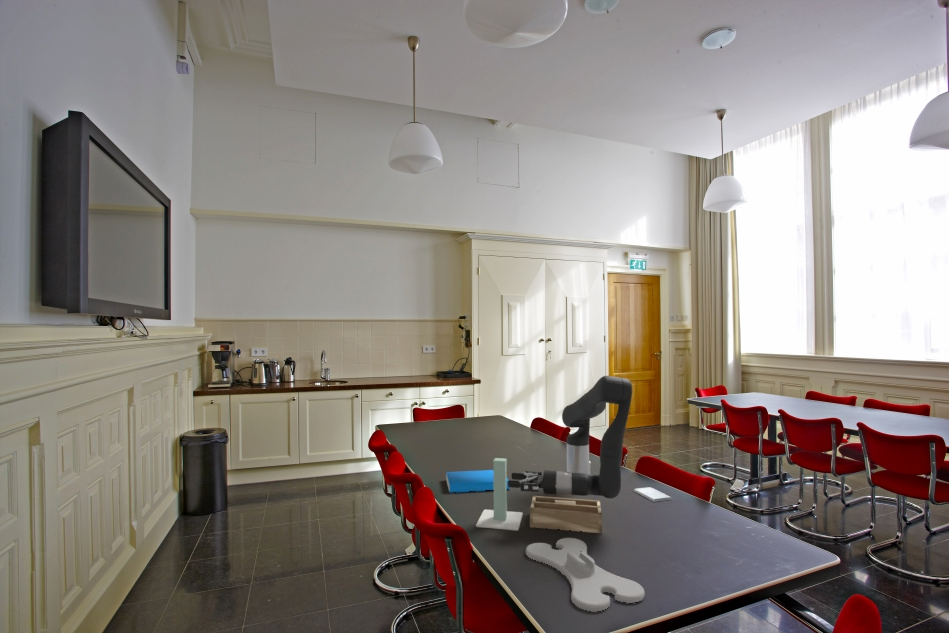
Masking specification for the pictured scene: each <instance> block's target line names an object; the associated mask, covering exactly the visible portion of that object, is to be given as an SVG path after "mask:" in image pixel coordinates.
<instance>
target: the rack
mask: <svg viewBox="0 0 949 633" xmlns="http://www.w3.org/2000/svg"><path fill="white" fill-rule="evenodd" d="M555 500H562V501H575V502H576V505H575V504H562V503H555ZM602 513H603V512H602V507H601V500H595V499H581V498H568V497H556V496H555V497H554V496H553V497H552V496H542V495H540V496H539V495H532V500H531V504H530V507H529V528H534V527H535V528H537V529H546V528H547V529H548V530H557V529H560V530H561V531H569V530H571V532H580V531H582V533H592V534H593V533H595V534H603V514H602ZM547 529H546V530H547Z"/></svg>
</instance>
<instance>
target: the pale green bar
mask: <svg viewBox="0 0 949 633" xmlns="http://www.w3.org/2000/svg"><path fill="white" fill-rule="evenodd" d="M507 463H508V459H507V458H503V457H495V458H494V459H493V466H492V467H493V468H492V470H493V479H494V491H493V510H494V520H499V521H505V520H506V518H507V511H508V492H507V491H508V490H507V478H508V475H507V474H508V470H507V468H508V465H507Z"/></svg>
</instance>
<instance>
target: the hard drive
mask: <svg viewBox="0 0 949 633" xmlns="http://www.w3.org/2000/svg"><path fill="white" fill-rule="evenodd" d="M633 492H634V493H637V494H638V495H640V496H642V497H644V498H646V499H647V500H649V501H651V502H653V503H657V502H663V501H664V502H665V501H671V500H672V501H673V497H672V496H669V495H667V494H666V493H663V492H661V491H659V490H657V489H655V488H653V487H651V486H649V487H637V488H634V489H633Z"/></svg>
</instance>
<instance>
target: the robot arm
mask: <svg viewBox="0 0 949 633" xmlns="http://www.w3.org/2000/svg"><path fill="white" fill-rule="evenodd" d="M632 398H633V385H632V381H631V380H630V379H628V378H626V377H625V378H624V377H619V376H613V375H612V376H611V375H603V376H601V377H600V378H599V379H598V380H597V381H596V383H595V384H594V386H593V387H591V388H590V389H589V390H588V391H587V392H586V393H584V394H583V395H582V396H580V398H578V399H577V400H576V401H574V402H573V403H570V404H568V405H566V406H565V407H564V408H563V410H562V414H561V419H562V423H563V424H564V426H565V427H567V428H573V429H574V428H576V429H577V428H578V429H577V430H576V431H574V432H572V433H571V434H568V435H567V437H566V471H559V470H544V471H543V473H542V471H533V470H525V471H524V472H512V473H511V479H508V487H510V488H513V489H514V488H516V489H519V490H520V492H531V493H532V492H534V493H539V492H540V489H542V492H543V494H545V495H554V496H555V495H556V496H557V495H558V496H579V497H581V496H586V497H587V496H601V497H604V498H607V499H610V500H611V499H614V498H617V497H618V496H619V494H620V493H621V488H622V468H621V467H622V460H623V448H624V439H625V438H624V437H625V432H626V427H627V423H628V418H629V412H630V408H631V403H632ZM607 404H613V405H618V406H617V412H616V415H615V416H614V419H613V421H612V422H611V424H610V425H609V426H608V427H607V429H606V430H605V432H604V433H603V435H602V439H601V442H600V455H599V464H600V467H599V474H597V473H596V474H595V473H594V474H593V473H591V472H592V467H591V466H592V464H591V461H590V430H591V428H590V426H591V425H590V424H591V419H594V418H596V417H598V416H599V415H601V414H602V413H603V412H604V411H605V410H606V407H607Z"/></svg>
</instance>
